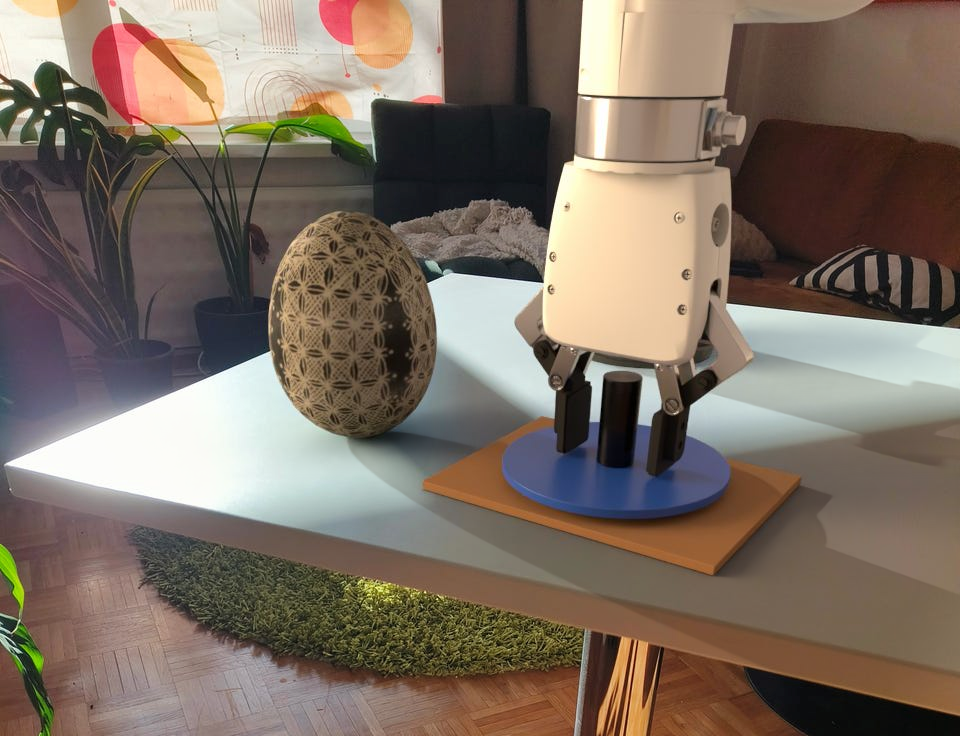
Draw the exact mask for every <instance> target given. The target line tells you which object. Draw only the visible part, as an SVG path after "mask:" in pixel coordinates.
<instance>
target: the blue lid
mask: <svg viewBox="0 0 960 736" xmlns="http://www.w3.org/2000/svg"><path fill="white" fill-rule="evenodd" d="M643 380H644V378H643V376H642V375H641V374H640V373H638V372H635V371H630V370H612V371H607V372H604V374H603V375H602V387H601V398H600V399H601V400H600V411H599V421H590V424H589V436H588V440H587V441H586V442H584V443H583V444H581V445H579V446H578V447H576V448H575V449H573V450H571V451H570V452H567V453H566V454H563V453H559V452H557V450H556V443H557V434H556V433H555V432H554V426H553V427H548V428H544V429H540V430H537V431H534V432H531V433H529V434H526V435H524V436H522V437H520V438H518V439H517V440H515V441H514V442H512V443H511V444H510V445H509V446H508V447H507V449H506V450H505V452H504V454H503V457H502V472H503V475H504V477H505V479H506V480H507V482H508V483H509V484H510V485H511V486H512V487H513V488H514V489H515V490H517V491H518V492H519V493H521V494H522V495H524V496H526V497H528V498H530V499H531V500H534V501H536V502H538V503H541V504H543V505H546V506H549V507H552V508H555V509H558V510H562V511H566V512H570V513H575V514H581V515H586V516H593V517H602V518H615V519H647V518H659V517H668V516H673V515H679V514H683V513H687V512H691V511H694V510H697V509H700V508H702V507H705V506H707V505H709V504H711V503H713V502H714V501H716V500H717V499H718V498H720V497H721V496H722V495H723V494H724V493H725V492H726V490H727V488H728V486H729V482H730V475H731V470H730V466H729V464H728V462H727V460H726V459H727V458H725V457H724V456H723V454H722V453H720V451H718V450H717V449H715V448H714V447H713V446H711V445H709V444H707V443H706V442H704V441H702V440H699V439H697V438H694V437H693V436H690V435H687V434H686V441H685V448H684V452H683V455H682V457H681V458H680V459H679V460H678V461H677V462H675V464H673V465H672V466H671V467H670V468H668V469H667V470H666V471H664V472H663V473H662V474H661V475H659V476H658V477H655V476H651V475H649V474H648V472H646V467H647V458H648V449H649V441H650V432H651V425H645V424H639V418H640V417H639V416H640V409H641V408H640V407H641V399H642V391H643Z"/></svg>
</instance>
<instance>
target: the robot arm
mask: <svg viewBox="0 0 960 736" xmlns="http://www.w3.org/2000/svg"><path fill="white" fill-rule="evenodd" d="M874 1H875V0H583V1H582V14H581V15H582V16H581V32H580V34H581V35H580V49H579V50H580V51H579V52H580V53H579V69H578V87H577V88H578V89H577V93H578V95H577V101H576V119H575V120H576V121H575V138H574V156H573V160H572V161H567V162H564V165H563V168H562V172H561V176H560V180H559V184H558V187H557V192H556V197H555V202H554V204H553V205H554V207H553V212H552V215H551V222H550V228H549V235H548V242H547V249H546V251H547V252H546V259H545V267H544V278H543V287H541V289H539V291H538V292H537V293H536V295H534V297H533V298H531V300H530V301H529V302H528V303H527V304H526V305H525V306H524V307H523V308H522V309H521V311H520V312H519V313H518V314H517V315H516V316H515V318H514V327H515V329H516V331H518V333H519V334H520V336H522V338H523V340H524V341H525V342H526V344H527V345H528V346H529V347H530V348H532V352H533V355H534V357H535V359H536V360H537V362H538V363H539V365H540V366H541V368H542V369H543V370H544V372H545V373H546V375H547V376H548V378H547V383H548V386H549V387H550V389H551V390H553V391H555V401H554V417H553V419H554V432H555V433H556V434H557V443H556V450H557V452H559V453H563V454H566V453H567V452H570V451H571V450H573V449H575V448H576V447H578V446H579V445H581V444H583V443H584V442H586V441H587V440H588V436H589V424H590V422H591V409H592V397H593V396H592V395H593V386H592V383H591V381H590V380H586V374H587V371H588V369H589V367H590V365H591V362H592V361H593V360H592V357H593V355H594V353H600V354H605V355H610V356H616V357H621V358H627V359H632V360H638V361H643V362H649V363H654V368H653V369H654V373H655V377H656V382H657V386H658V392H659V396H660V402H661V405H660V409H659V410H657V411H655V412H654V413H653V415H652V417H651V424H650V426H651V432H650V441H649V449H648V458H647V467H646V472H648V474H649V475H651V476H655V477H658V476H659V475H661V474H662V473H663V472H664V471H666V470H667V469H668V468H670V467H671V466H672V465H673V464H675V462H677V461H678V460H679V459H680V458H681V457H682V455H683V452H684V448H685V441H686V435H687V433H688V425H689V418H690V411H691V406H692V405H693V404H695V403H696V402H698V401H699V400H700V399H702V398H703V397H704V396H706V395H707V394H708V393H710V392H711V391H712V390H714V389H715V388H717V387H718V386H719V385H721V384H722V383H724V382H725V381H727V380H728V379H730V378H731V377H733V376H734V375H736V374H738V373H739V372H740V371H742V370H743V369H745V368H746V367H748V366H749V365H750V364H752V362H753V360H754V358H755V357H754V355H755V354H754V351H753V349H752V348H751V347H750V345H749V344H748V342H747V340H746V338H745V337H744V335H743V334H742V332H741V331H740V329H739V327H738V326H737V324H736V323H735V321H734V320H733V318H732V316H731V314H730V312H729V311H728V309H727V303H728V293H729V279H730V267H731V266H730V263H731V250H732V249H731V247H732V246H731V244H732V185H731V183H732V182H731V181H732V180H731V172H730V171H731V170H730V168H729V167H725V166H716V165H715V164H716V157H719V156H720V155H721V150H722V148H723V149H724V148H727V146H740V145H741V144H742V143H743V141H744V138H745V134H746V131H747V118H746V116H745V115H739V114H733V113H732V111H728V109H727V107H728V106H727V104H728V98H724V97H723V96H725V89H726V88H725V87H726V82H727V75H728V68H729V60H730V54H731V53H730V52H731V46H732V38H733V31H734V25H739V24H740V25H742V24H764V23H765V24H766V23H769V24H770V23H774V24H800V23H802V24H803V23H818V22H827V21H831V20H837V19H840V18H843V17H847V16H848V15H851V14H853V13H856V12H857V11H859V10H861V9H863V8H865V7H867V6H868V5H869V4H871V3H873V2H874ZM712 347H714V349H715V352H716V358H715V360H714V361H713V362H711V364H709V365H708V366H706V367H705V368H704V369H702V370H701V371H699V372H698V373H697V369H696V366H695V365H696V363H694V359H693V356H694V354H695V352H696V351H700V350H706V349H710V348H712Z"/></svg>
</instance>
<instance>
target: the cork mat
mask: <svg viewBox="0 0 960 736" xmlns="http://www.w3.org/2000/svg"><path fill="white" fill-rule="evenodd" d="M553 426H554V418H553V417H548V416H544V415H541V416H539V417H537V418H536V419H534V420H532V421H530V422H528V423H526V424H525V425H522V426H521V427H519V428H517V429H516V430H513V431H512V432H510V433H508V434H506V435H504V436H502V437H500V438H499V439H497V440H494V441H493V442H492V443H490V444H488V445H485V446H484V447H482V448H480V449H479V450H477V451H475V452H473V453H471V454H470V455H468V456H466V457H464V458H462V459H461V460H458V461H457V462H455V463H453V464H451V465H449V466H447V467H446V468H444V469H442V470H440V471H438V472H437V473H434V474H433V475H431V476H430V477H427V478H426V479H424V480H422V490H424V491H428V492H430V493H431V492H432V493H433V494H434V493H435V494H438V495H441V496H445V497H448V498H451V499H455V500H458V501H461V502H464V503H468V504H471V505H475V506H478V507H482V508H484V509H488V510H492V511H495V512H498V513H501V514H505V515H509V516H512V517H515V518H519V519H520V520H521V519H522V520H524V521H529V522H532V523H534V524H538V525H542V526H545V527H548V528H552V529H554V530H555V529H556V530H559V531H561V532H566V533H568V534H571V535H575V536H579V537H582V538H586V539H589V540H592V541H595V542H598V543H602V544H606V545H609V546H613V547H615V548H619V549H622V550H625V551H629V552H632V553H636V554H639V555H641V556H642V555H643V556H646V557H650V558H652V559H656V560H659V561H663V562H666V563H669V564H673V565H676V566H679V567H683V568H686V569H689V570H693V571H695V572H696V571H697V572H700V573H704V574H706V575H709V576H715V575H716V574H717V573H718V572H719V570H720V569H721V568H723V566H724V565H726V563H727V562H728V561H729V560H730V559H731V558H732V557H733V556H734V554H736V552H738V550H739V549H740V548H741V547H742V546H743V545H744V544H745V543H746V542H747V541H748V540H749V539H750V537H752V536H753V535H754V534H755V533H756V532H757V530H758V529H759V528H760V527H761V526H762V525H763V524H764V523H765V522H766V521H767V520H768V519H769V517H771V516H772V514H773V513H774V512H775V511H776V510H777V509H778V508H779V507H780V506H781V505H782V504H783V503H784V502H785V501H786V499H788V498H789V497H790V496H791V494H792V493H793V492H794V491H795V490H796V489H797V488H798V487H799V486H800V485H801V483H802V482H801V481H802V478H803V476H801V475H798V474H794V473H791V472H786V471H782V470H777V469H773V468H768V467H764V466H759V465H756V464H750V463H747V462H743V461H739V460H733V459H730V458H725V459H726V460H727V462H728V464H729V466H730V470H731V475H730V482H729V486H728V488H727V490H726V492H725V493H724V494H723V495H722V496H721V497H720V498H718V499H717V500H716V501H714V502H713V503H711V504H709V505H707V506H705V507H702V508H700V509H697V510H694V511H691V512H687V513H683V514H679V515H673V516H668V517H659V518H647V519H615V518H602V517H593V516H586V515H581V514H575V513H570V512H566V511H562V510H558V509H555V508H552V507H549V506H546V505H543V504H541V503H538V502H536V501H534V500H531V499H530V498H528V497H526V496H524V495H522V494H521V493H519V492H518V491H517V490H515V489H514V488H513V487H512V486H511V485H510V484H509V483H508V482H507V480H506V479H505V477H504V475H503V472H502V457H503V454H504V452H505V450H506V449H507V447H508V446H509V445H510V444H511V443H512V442H514V441H515V440H517V439H518V438H520V437H522V436H524V435H526V434H529V433H531V432H534V431H537V430H540V429H544V428H548V427H553Z"/></svg>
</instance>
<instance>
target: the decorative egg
mask: <svg viewBox="0 0 960 736" xmlns="http://www.w3.org/2000/svg"><path fill="white" fill-rule="evenodd" d="M270 293H271V294H270V300H269V301H270V302H269V309H268V343H269V344H268V345H269V350H270V351H269V352H270V357H271V361H272V366H273V368H274V372H275V374H276V377H277V380H278V381H279V384H280V386H281V388H282V390H283V392H284V394H285V395H286V397H287V399H288V400H289V401H290V402H291V404H292V405H293V407H294V408H295V409H296V410H297V411H298V412H299V414H301V415H302V416H303V417H304V418H305V419H307V420H308V421H309V422H311V423H312V424H314V425H315V427H318V428H320V429H322V430H324V431H326V432H328V433H331V434H333V435H337V436H340V437H346V438H350V439H364V438H369V437H370V438H371V437H374V436H378V435H382V434H384V433H386V432H389V431H390V430H392V429H394V428H395V427H397V426H399V425H400V424H402V423H403V422H404V421H405V420H406V419H407V418H408V417H409V416H410V415H411V414H413V412H414V411H415V410H416V409H417V408H418V407H419V405H420V403H421V402H422V400H423V398H424V397H425V395H426V393H427V391H428V388H429V386H430V384H431V381H432V377H433V374H434V371H435V365H436V359H437V358H436V357H437V347H438V334H437V331H438V330H437V329H438V328H437V318H436V313H435V306H434V302H433V299H432V295H431V291H430V288H429V285H428V282H427V279H426V277H425V274H424V272H423V270H422V268H421V266H420V264H419V262H418V260H417V259H416V257H415V256H414V255H413V252H412V251H411V250H410V248H409V247H408V245H407V244H406V243H405V242H404V241H403V240H402V238H401V237H400V236H399V235H398V234H397V233H396V232H395V231H394V230H392V229H391V227H389V226H388V225H387V224H385V223H384V222H383V221H381V220H379V219H378V218H375V217H374V216H371V215H369V214H367V213H363V212H359V211H352V210H351V211H350V210H340V211H334V212H330V213H328V214H325V215H323V216H321V217H319V218H318V219H316V220H314V221H312V222H311V223H309V224H308V225H307V226H306V227H304V228H303V230H301V231H300V232H299V233H298V234H297V236H296V237H295V238H294V240H292V241H291V243H290V245H289V246H288V248H287V249H286V251H285V253H284V254H283V257H282V258H281V261H280V262H279V266H278V268H277V271H276V274H275V276H274V279H273V283H272V286H271V292H270Z"/></svg>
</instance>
